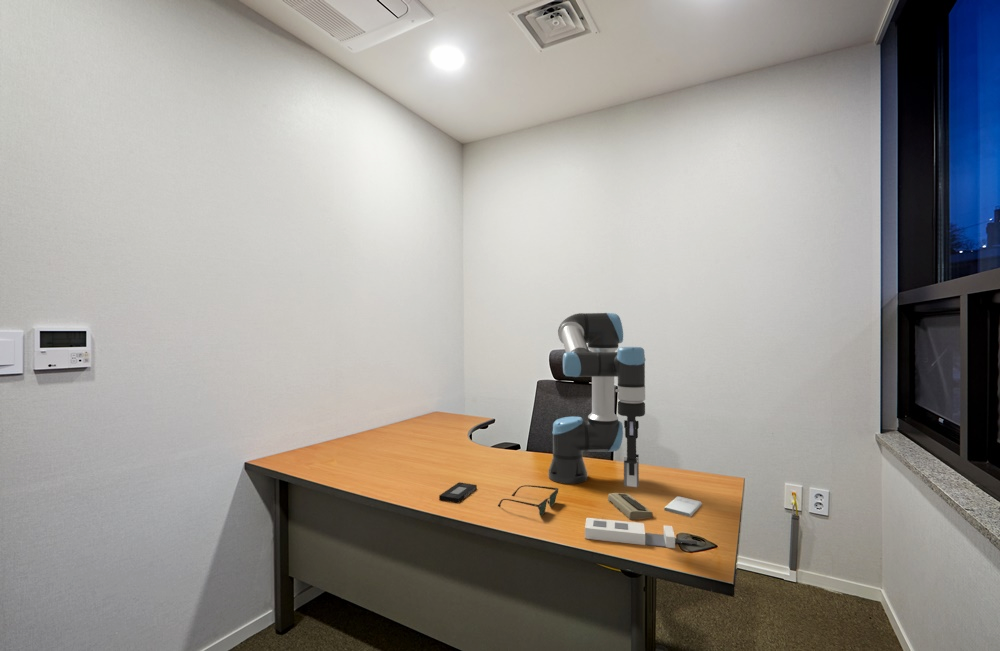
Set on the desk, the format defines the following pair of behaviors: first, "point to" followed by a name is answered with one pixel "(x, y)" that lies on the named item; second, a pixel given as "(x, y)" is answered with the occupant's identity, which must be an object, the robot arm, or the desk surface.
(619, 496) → the computer
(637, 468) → the charger
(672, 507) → the external hard drive
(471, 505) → the desk surface
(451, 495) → the vhs tape
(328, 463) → the desk surface
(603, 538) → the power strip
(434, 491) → the desk surface
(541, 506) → the sunglasses
